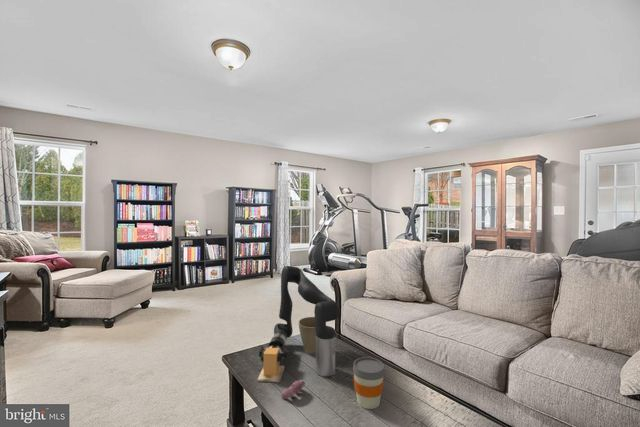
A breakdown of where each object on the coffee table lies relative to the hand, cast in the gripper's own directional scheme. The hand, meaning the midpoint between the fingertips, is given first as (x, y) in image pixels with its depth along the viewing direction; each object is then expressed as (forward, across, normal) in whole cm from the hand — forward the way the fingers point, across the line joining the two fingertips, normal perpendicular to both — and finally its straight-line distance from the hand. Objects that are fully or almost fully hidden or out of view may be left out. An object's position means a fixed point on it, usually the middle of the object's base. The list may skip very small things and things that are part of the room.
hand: (270, 359), depth 138 cm
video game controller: (+12, +12, +8) cm, 19 cm away
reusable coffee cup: (+15, +43, +8) cm, 46 cm away
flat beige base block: (-2, 0, +8) cm, 8 cm away
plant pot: (-26, +17, +8) cm, 32 cm away
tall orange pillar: (-2, 0, +7) cm, 7 cm away
